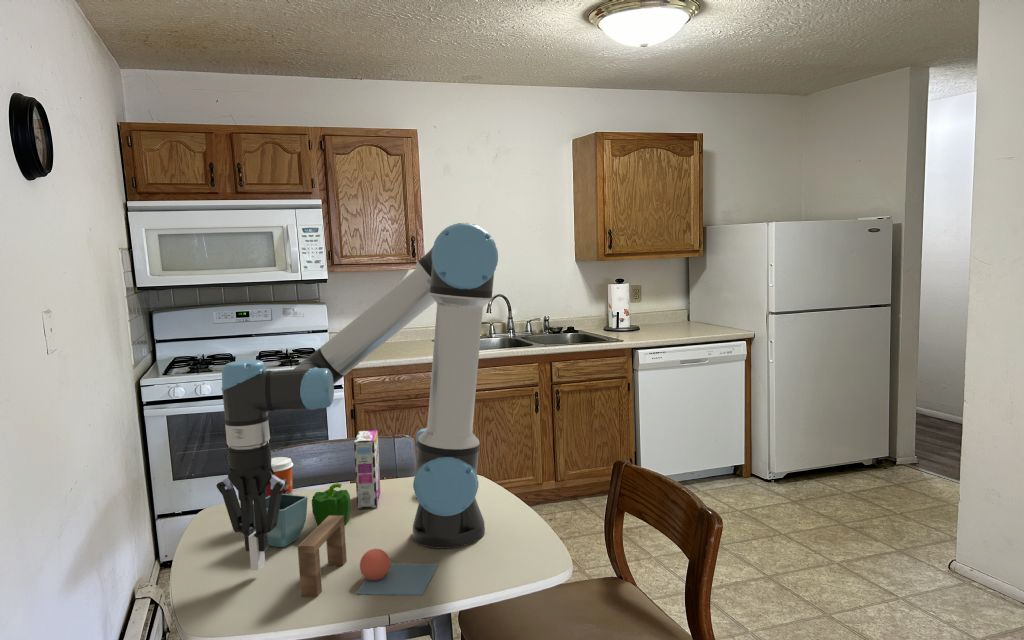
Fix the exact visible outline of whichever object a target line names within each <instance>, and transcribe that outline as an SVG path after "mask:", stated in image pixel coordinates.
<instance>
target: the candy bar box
mask: <svg viewBox="0 0 1024 640" xmlns="http://www.w3.org/2000/svg"><path fill="white" fill-rule="evenodd" d="M353 446H354V447H353V451H354V467H355V469H354V470H355V488H356V503H357V504H356V509H357V510H366V509H376V508H378V505H379V499H380V496H381V476H380V459H379V458H380V454H379V453H380V452H379V433H378V430H377V429H376V430H360V431H359V430H358V433H357V434H356V437H355V439H354V441H353Z"/></svg>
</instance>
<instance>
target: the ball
mask: <svg viewBox="0 0 1024 640" xmlns="http://www.w3.org/2000/svg"><path fill="white" fill-rule="evenodd" d="M390 559H391V558H390V557H389V555H388V553H387V552H386V551H384V550H382V549H380V548H372V549H370V550H368V551H366V552H364V554H363V555H362V557H361V559H360V561H359V568H360V569H359V570H360V572H361V574H362V576H364V578H365V579H366V578H367V579H369V580H379V579H382V578H383V577H384V576H385V575H386V574H387V573H388V571H389V569H390V564H391V560H390Z"/></svg>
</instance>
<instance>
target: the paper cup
mask: <svg viewBox="0 0 1024 640" xmlns="http://www.w3.org/2000/svg"><path fill="white" fill-rule="evenodd" d="M293 466H294V463H293V462H292V458H290V457H286V456H285V457H284V456H278V457H277V456H276V457H271V467H272V469H273V471H274V475H275V476H276V477H278V478H279V479H281V480H282V479H286V480H287V484H286V485H285V487H284V489H283V491H282V494H289V495H293ZM271 491H272V489H271V482H270V484H269V485H268V487H267V488H266V492H267V493H266V497H268V496H270V494H271Z"/></svg>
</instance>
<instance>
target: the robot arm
mask: <svg viewBox="0 0 1024 640" xmlns="http://www.w3.org/2000/svg"><path fill="white" fill-rule="evenodd" d="M498 261H499V251H498V247H497V244H496V242H495V239H494V238H493V237H492V235H491V234H490V233H489V232H488V231H487V230H485V229H484V228H483V227H481V226H478V225H477V224H473V223H469V222H462V223H460V222H459V223H458V222H457V223H454V224H451V225H449V226H447V227H445V228H444V229H443V230H442V231H441V232H440V233H439V234H438V235H437V237H436V238H435V240H434V242H433V246H432V247H431V248H430V250H428V252H427V253H426V254H425V255H423V256H422V257H421V258H420V259H419V260H417V261H416V265H415V266H416V267H415V269H414V270H413V271H411V272H410V274H408V275H407V276H406V277H404V278H403V279H402V280H401V281H400V282H398V284H396V285H395V286H394V287H391V289H390V290H388V291H387V292H386V293H385V294H384V295H383V296H381V297H380V298H379V299H378V300H376V301H374V303H373V304H372V305H370V306H369V307H368V308H367V309H365V310H364V311H363V312H361V314H359V315H358V316H357V317H356V318H354V319H353V320H352V321H351V322H349V323H348V324H347V325H345V327H344V328H342V329H341V330H339V332H337V333H336V334H335V335H334V336H333V337H331V338H330V339H329V340H328V341H326V342H325V343H324V344H323V345H322V346H320V347H319V348H318V349H316V351H314V352H312V353H311V355H309V356H308V357H306V358H305V359H304V360H302V361H301V362H300V363H299V364H298V365H297V366H295V367H294V368H293V369H281V370H267V369H266V367H265V362H264V361H262V360H261V359H246V360H245V359H244V360H236V361H231V362H228V363H226V364H224V366H223V367H222V369H221V381H222V382H221V391H222V401H223V411H224V424H225V425H224V426H225V436H226V439H225V440H226V445H227V446H229V447H228V448H227V451H226V452H227V464H228V468H229V471H228V474H227V477H226V478H225V479H223V480H221V481H219V482H218V483H217V484H216V488H217V491H218V492H220V494H221V495H222V498H223V502H224V504H225V508H226V511H227V514H228V516H229V517H228V518H229V520H230V524H231V528H232V530H233V531H234V533H241V534H242V535H243V536H244V537H243V538H244V548H245V551H246V552H249V560H250V561H249V562H250V570H251V571H260V570H261V569H262V568H263V567H264V566H265V565H266V555H265V552H266V550H267V549H269V548H268V547H269V546H268V538H267V532H268V533H269V532H270V531H272V530H273V529H274V528H275V527H276V526H277V521H278V515H279V509H280V502H281V496H282V491H283V489H284V487H285V485H286V484H287V480H286V479H282V480H281V479H279V478H278V477H276V476H275V475H274V471H273V469H272V467H271V458H272V449H271V448H272V447H271V443H270V442H269V441H270V440H271V434H270V426H269V425H270V424H269V412H281V411H282V412H285V411H302V410H303V411H305V410H306V411H307V410H310V411H315V410H318V409H325V408H329V407H331V406H332V404H333V402H334V397H335V386H334V385H336V384H337V383H338V382H339V381H340V380H341V379H342V378H343V377H345V375H347V374H348V373H350V372H351V371H352V370H353V369H354V368H356V366H358V365H359V364H361V363H362V362H363V361H364V360H365V359H367V358H368V357H369V356H370V355H372V353H374V352H376V350H377V349H379V348H380V347H381V346H382V345H384V344H385V343H386V342H388V341H389V340H390V339H392V338H393V336H394V335H396V334H397V333H398V332H400V331H401V330H402V329H404V328H405V327H406V326H407V325H408V324H410V323H411V322H412V321H413V320H415V319H416V318H417V317H418V316H419V315H421V314H422V313H424V312H425V310H427V309H428V308H429V307H431V306H432V305H433V304H434V303H436V313H435V327H434V337H433V353H432V363H431V364H432V365H431V378H430V388H429V389H430V390H429V399H428V400H429V402H428V415H427V426H426V427H424V428H421V429H419V430H418V431H417V432H416V435H415V437H416V438H415V442H414V443H415V446H416V460H415V461H416V462H415V472H414V473H415V474H414V477H413V478H414V479H413V482H412V483H413V486H412V487H413V491H414V494H415V497H416V500H417V502H418V505H417V509H416V513H415V516H414V520H413V524H412V537H413V541H414V542H416V543H417V544H419V545H421V546H423V547H428V548H434V549H435V548H437V549H451V548H457V547H463V546H468V545H469V544H472V543H475V542H477V541H479V540H480V539H481V538H482V537H483V536H484V535H485V532H486V530H485V519H484V517H483V514H482V512H481V509H480V507H479V503H478V501H477V499H476V496H477V493H478V489H479V480H478V465H479V463H478V462H479V451H480V440H479V438H478V437H477V436H476V435H475V433H474V432H473V428H474V416H475V405H476V392H477V391H476V390H477V383H478V370H479V360H480V358H479V357H480V347H481V334H482V323H483V322H482V321H483V312H484V311H483V310H484V308H485V306H486V305H487V304H489V303H490V302H491V301H492V299H493V289H494V277H495V271H496V270H497V266H498V263H499V262H498ZM270 482H271V489H272V491H271V494H270V500H269V506H268V512H267V508H266V493H267V492H266V488H267V487H268V485H269V484H270ZM235 489H236V490H237V491H236V490H235ZM236 492H237V493H238V494H237V493H236ZM253 504H254V508H253ZM254 516H255V522H254ZM255 529H256V531H255V532H254V530H255Z"/></svg>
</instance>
